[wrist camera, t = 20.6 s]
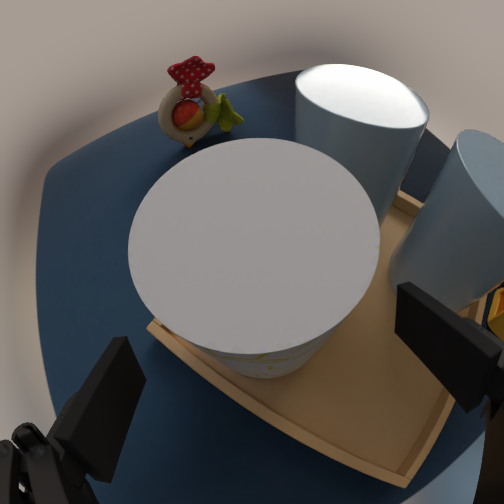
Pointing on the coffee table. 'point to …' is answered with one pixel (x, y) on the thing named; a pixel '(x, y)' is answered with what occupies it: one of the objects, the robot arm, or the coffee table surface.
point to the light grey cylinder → (255, 252)
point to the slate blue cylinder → (361, 126)
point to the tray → (350, 381)
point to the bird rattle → (193, 104)
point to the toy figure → (497, 314)
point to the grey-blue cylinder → (458, 227)
